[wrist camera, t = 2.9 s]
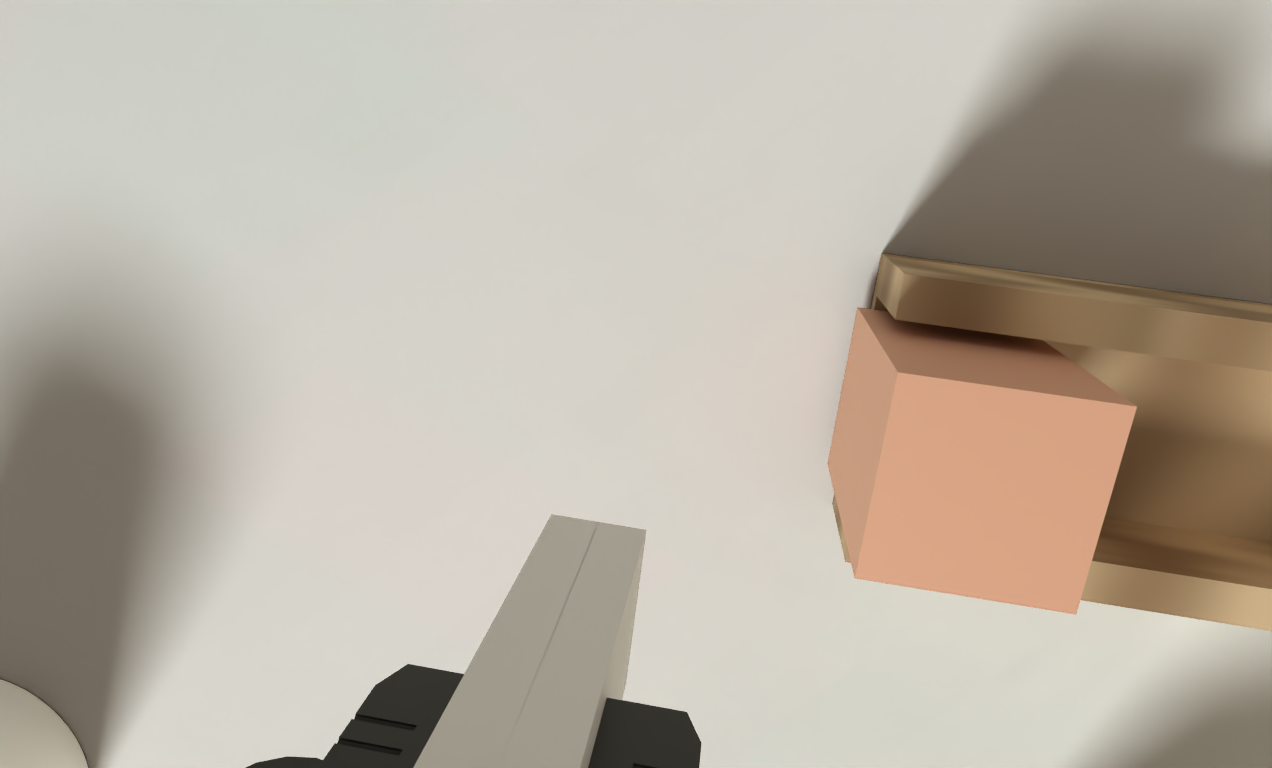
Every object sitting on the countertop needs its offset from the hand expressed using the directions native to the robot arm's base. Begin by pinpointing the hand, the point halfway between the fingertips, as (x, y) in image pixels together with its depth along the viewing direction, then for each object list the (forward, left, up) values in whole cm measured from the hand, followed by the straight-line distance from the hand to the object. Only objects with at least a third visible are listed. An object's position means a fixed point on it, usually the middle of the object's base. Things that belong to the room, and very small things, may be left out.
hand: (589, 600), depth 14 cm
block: (0, +8, -14) cm, 16 cm away
